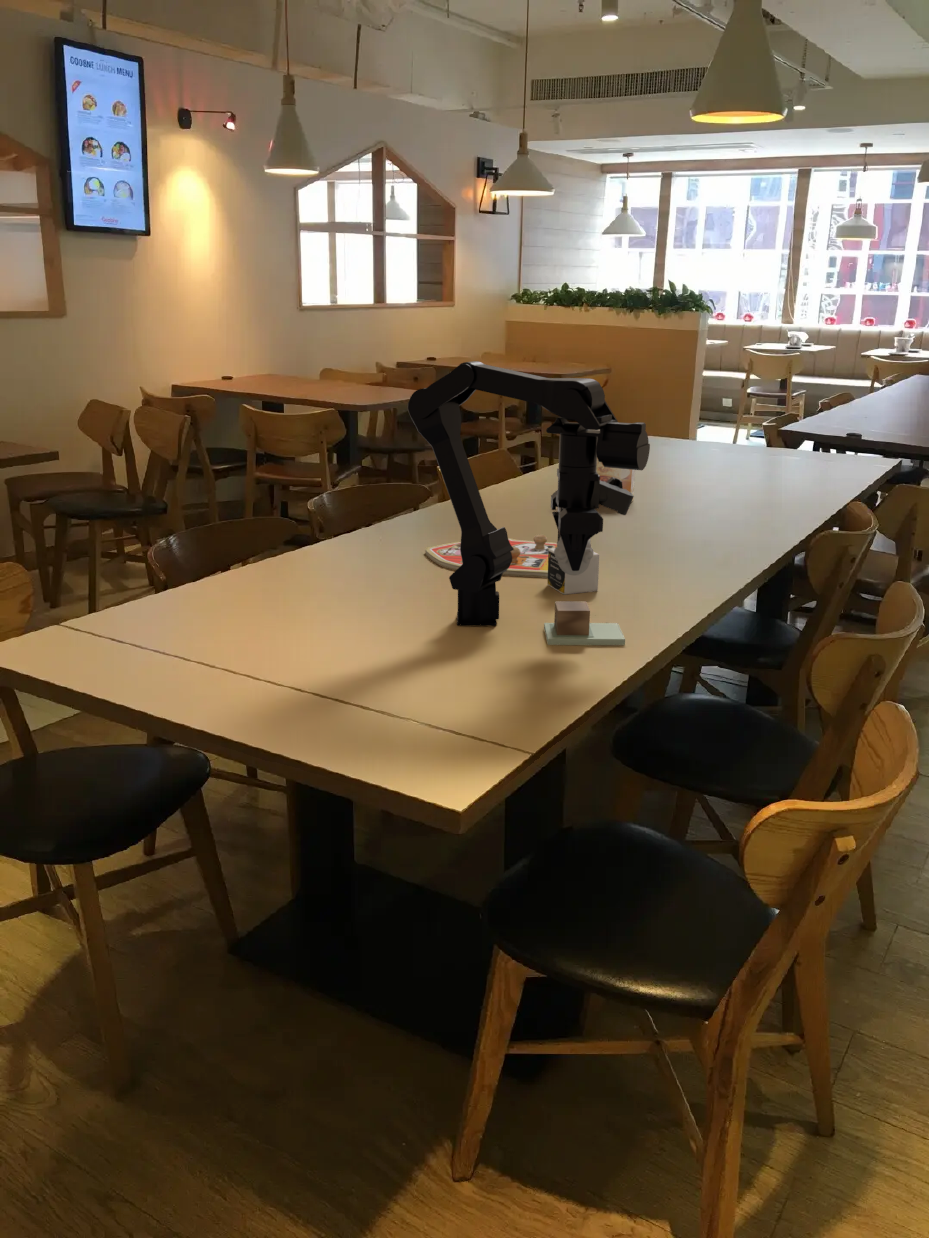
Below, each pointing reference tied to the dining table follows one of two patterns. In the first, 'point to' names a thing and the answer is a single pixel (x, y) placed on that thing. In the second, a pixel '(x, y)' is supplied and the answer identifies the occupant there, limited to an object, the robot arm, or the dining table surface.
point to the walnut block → (572, 618)
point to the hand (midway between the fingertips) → (573, 564)
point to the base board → (597, 635)
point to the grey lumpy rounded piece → (564, 562)
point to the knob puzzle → (525, 556)
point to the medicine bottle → (572, 576)
